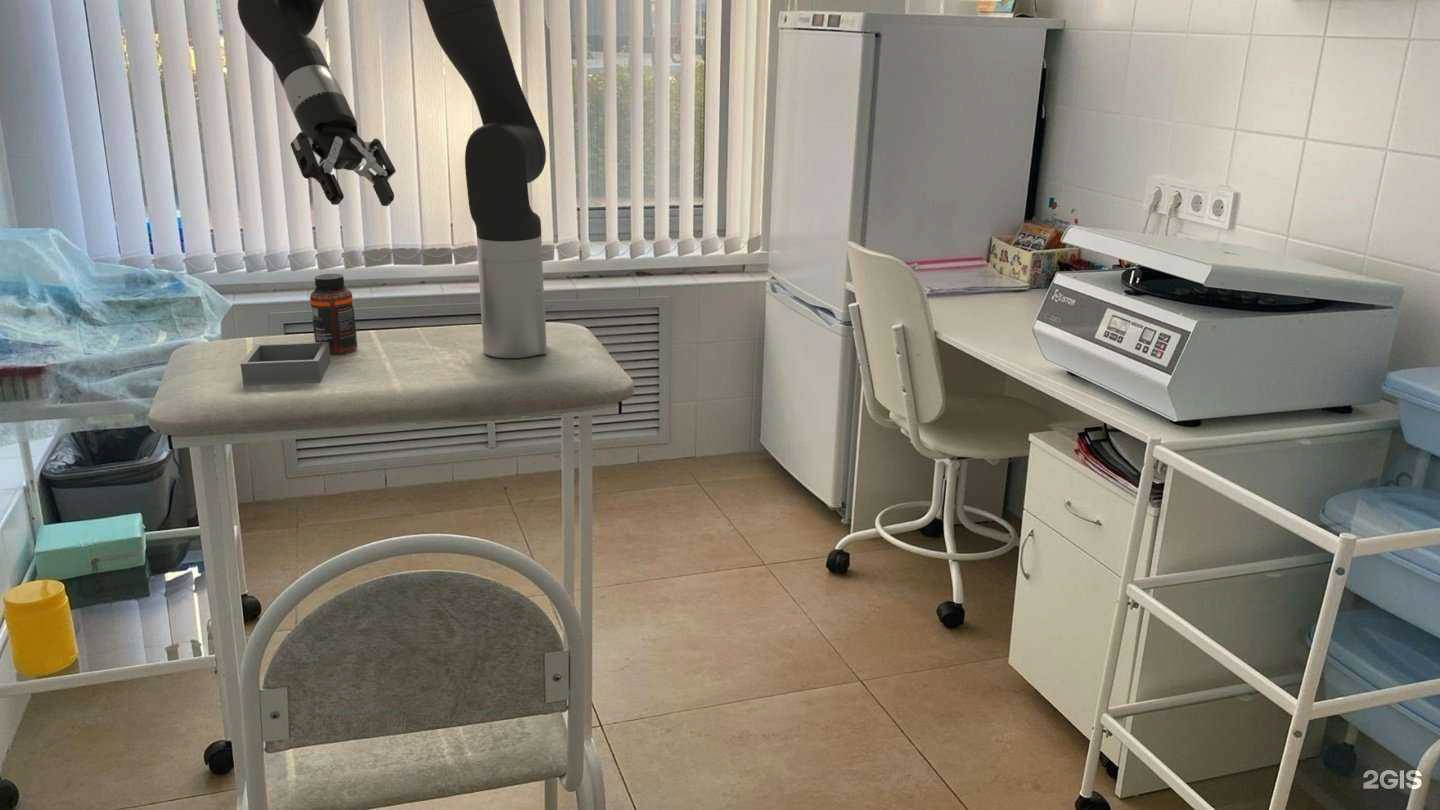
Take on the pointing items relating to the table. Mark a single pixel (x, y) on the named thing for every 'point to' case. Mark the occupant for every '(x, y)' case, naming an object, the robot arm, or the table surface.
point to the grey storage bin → (286, 363)
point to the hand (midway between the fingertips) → (364, 202)
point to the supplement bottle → (333, 314)
